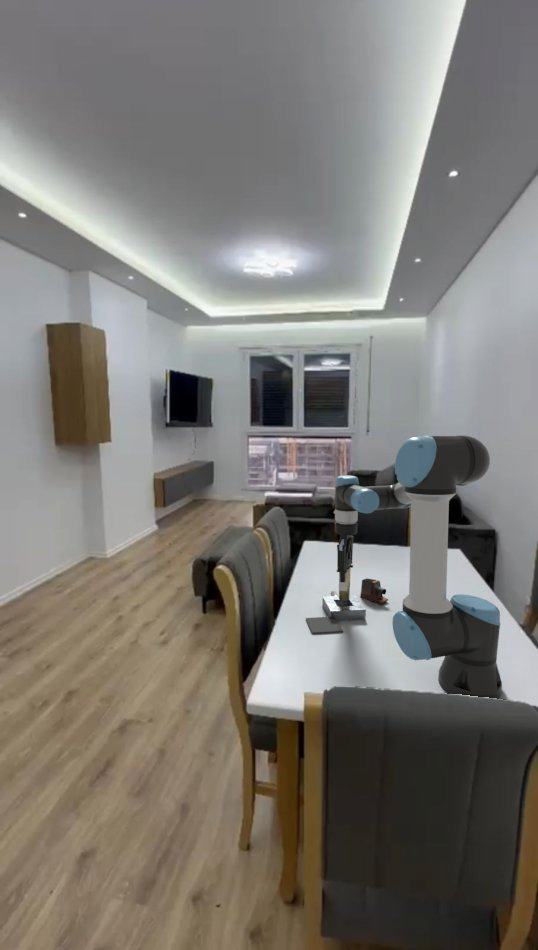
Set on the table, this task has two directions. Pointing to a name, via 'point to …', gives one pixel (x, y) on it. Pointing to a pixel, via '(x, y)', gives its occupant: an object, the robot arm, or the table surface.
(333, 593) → the block
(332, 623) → the pad
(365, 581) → the electronic device
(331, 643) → the table surface
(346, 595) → the gold and black cylinder
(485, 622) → the robot arm
